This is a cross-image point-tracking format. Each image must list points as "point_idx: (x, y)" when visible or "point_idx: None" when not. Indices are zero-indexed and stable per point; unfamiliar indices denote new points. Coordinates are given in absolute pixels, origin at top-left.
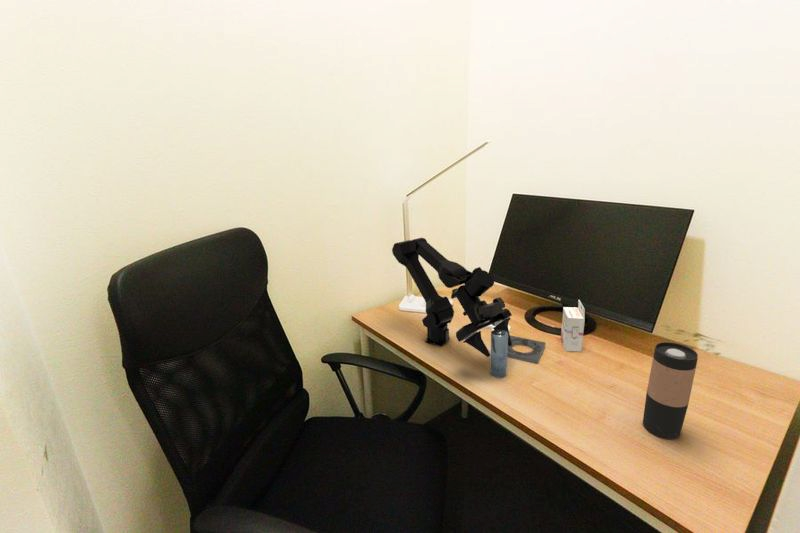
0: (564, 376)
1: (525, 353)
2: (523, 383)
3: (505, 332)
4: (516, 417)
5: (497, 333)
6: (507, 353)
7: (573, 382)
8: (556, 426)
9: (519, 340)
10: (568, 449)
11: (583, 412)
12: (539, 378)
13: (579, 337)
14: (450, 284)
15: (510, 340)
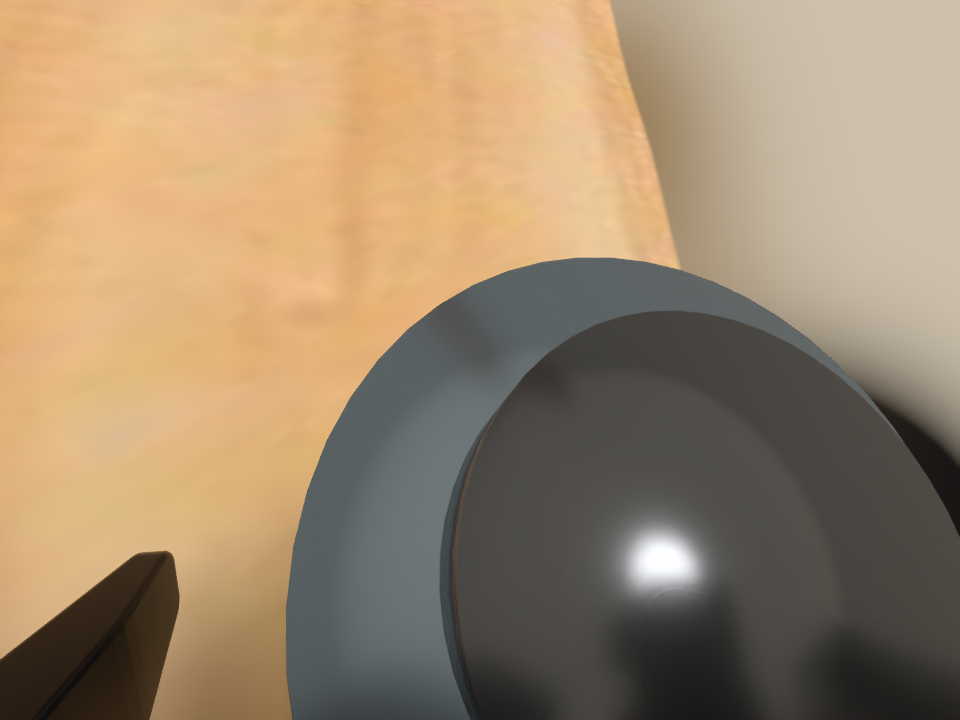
0: (24, 188)
1: None
2: (375, 343)
3: (432, 449)
4: (663, 203)
5: (920, 480)
6: None
7: (72, 121)
8: (547, 68)
9: None
10: (608, 10)
11: (352, 17)
12: (210, 299)
13: None
14: None
15: (82, 607)
